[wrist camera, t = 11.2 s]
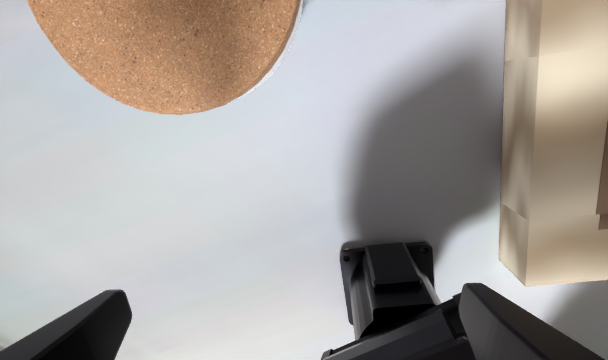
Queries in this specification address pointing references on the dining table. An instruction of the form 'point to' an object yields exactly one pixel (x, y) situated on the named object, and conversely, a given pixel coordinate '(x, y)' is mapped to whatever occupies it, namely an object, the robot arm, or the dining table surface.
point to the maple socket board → (555, 142)
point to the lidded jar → (171, 47)
